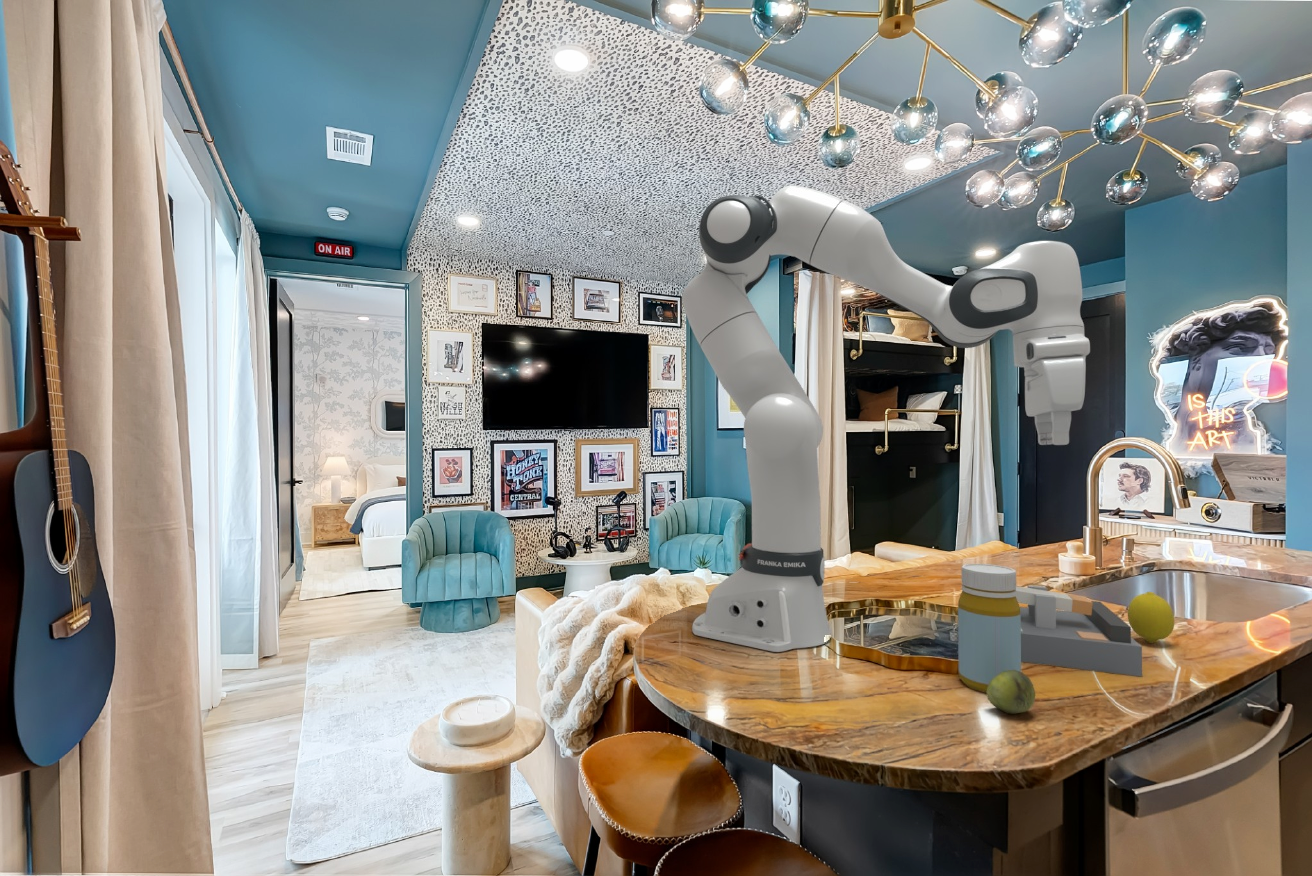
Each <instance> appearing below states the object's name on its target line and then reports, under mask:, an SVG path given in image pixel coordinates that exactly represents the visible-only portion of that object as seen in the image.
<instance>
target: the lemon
mask: <svg viewBox="0 0 1312 876" xmlns="http://www.w3.org/2000/svg"><path fill="white" fill-rule="evenodd" d="M1127 621H1128V625H1129V626H1130V627H1131V630H1132V631H1134V633H1135V634H1136V635H1138V636H1139V637H1141V638H1143V639H1144V640H1146V642H1147V643H1149V644H1154V643H1155V642H1157V641H1160V640H1161V641H1162V640H1164V639H1167V638H1168V637H1169V636H1170V635H1171V634H1172V632H1173V630H1174V628H1175V616H1174V611H1173V610H1172V607H1171V606H1170V604H1169V602H1167V601H1166V600H1165V599H1164V598H1163V597H1162V596H1159V595H1157V594H1155V593H1154V592H1152V591H1147V592H1145V593H1141V594H1138V595H1136V596H1135V597H1133V598H1132V599H1131V601H1130V602H1129V605H1128V610H1127Z"/></svg>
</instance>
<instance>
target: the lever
mask: <svg viewBox="0 0 1312 876" xmlns="http://www.w3.org/2000/svg"><path fill="white" fill-rule="evenodd" d="M1035 594H1042V595H1054V596H1055V597H1056V610H1061V611H1070V612H1073V613H1079V614H1085V615H1091V614H1092V604H1093V603H1092V602H1091V601H1092V600H1090V599H1089V598H1088V597H1087V596H1083V595H1077V594H1073V593H1065V592H1064V593H1063V592H1056V591H1049V590H1047V591H1044V590H1038V589H1032V588H1028V587H1024V586H1017V585H1016V598H1017V601H1018V604H1021V605H1022V604H1023V605H1027V606H1028V605H1034V606H1035Z"/></svg>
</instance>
